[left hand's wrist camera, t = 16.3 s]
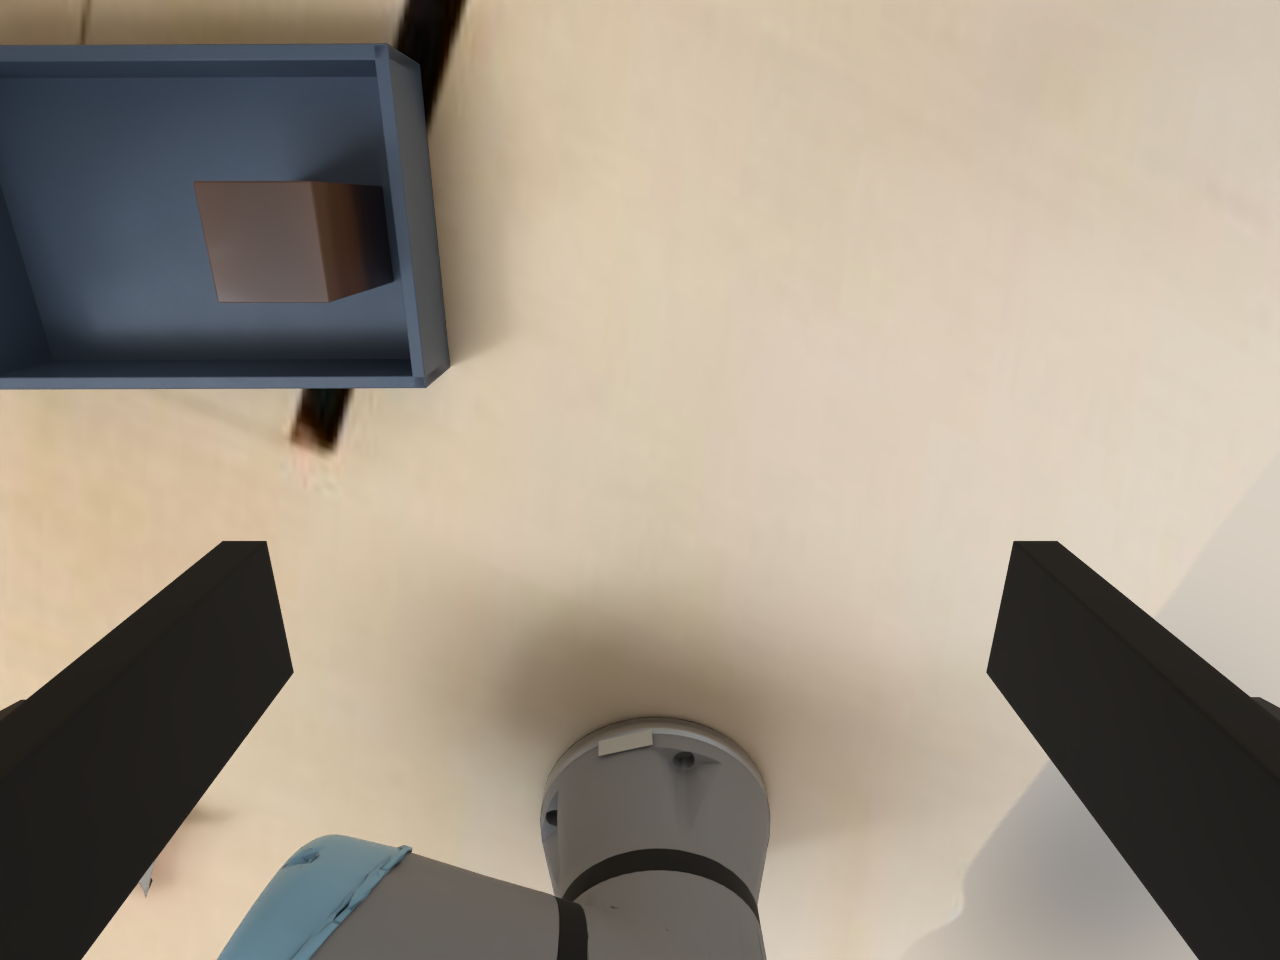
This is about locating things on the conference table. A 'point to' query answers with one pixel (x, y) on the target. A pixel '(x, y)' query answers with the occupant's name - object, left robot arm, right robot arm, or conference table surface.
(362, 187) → the block
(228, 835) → the conference table surface
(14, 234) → the pan
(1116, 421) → the conference table surface
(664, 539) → the conference table surface
